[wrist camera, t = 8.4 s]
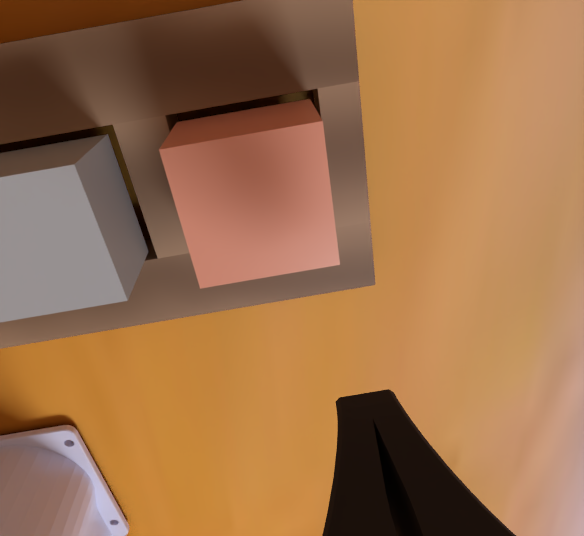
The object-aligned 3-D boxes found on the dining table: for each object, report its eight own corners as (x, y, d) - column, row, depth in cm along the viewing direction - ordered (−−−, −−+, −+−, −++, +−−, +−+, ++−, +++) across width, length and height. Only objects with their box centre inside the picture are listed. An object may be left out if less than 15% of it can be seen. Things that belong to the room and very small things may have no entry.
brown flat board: (365, 262, 22) (375, 284, 20) (-106, 342, 22) (-137, 371, 20) (340, -17, 16) (350, -20, 14) (-285, 95, 16) (-349, 106, 15)
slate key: (148, 251, 18) (127, 300, 15) (32, 271, 19) (-11, 324, 16) (107, 134, 16) (74, 164, 13) (-24, 157, 16) (-88, 192, 13)
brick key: (325, 221, 18) (339, 264, 15) (209, 241, 18) (200, 288, 15) (309, 98, 16) (322, 121, 13) (176, 122, 16) (158, 149, 13)
